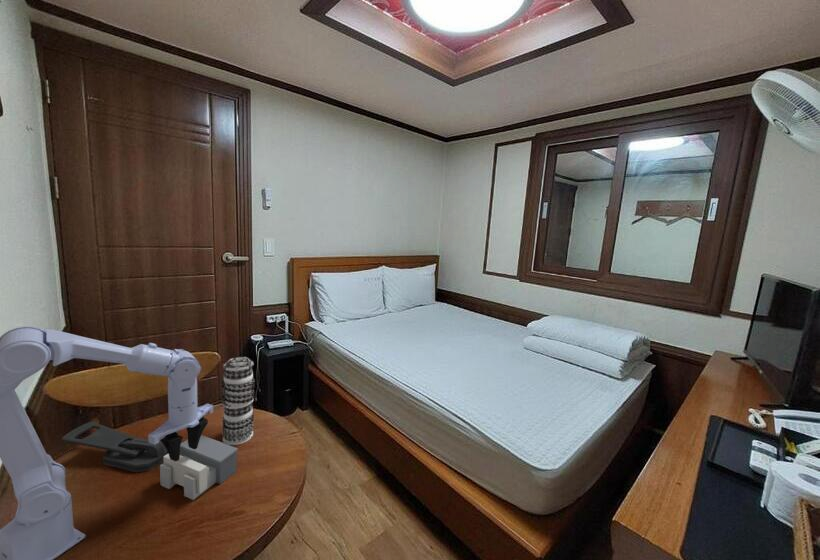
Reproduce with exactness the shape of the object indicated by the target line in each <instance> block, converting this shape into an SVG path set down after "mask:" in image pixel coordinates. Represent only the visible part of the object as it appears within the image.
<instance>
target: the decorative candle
mask: <svg viewBox="0 0 820 560" xmlns="http://www.w3.org/2000/svg"><path fill="white" fill-rule="evenodd" d="M254 363H255V362H254V361H253V360H252V359H250V358H249V357H247V356H235V357H232V358H230V359H229V360H227V361H226V362H225V364H224V363H223V365H222V368H223V369H224V371H223V372H224V373H223V378H221V379H220V380H221V381H220V384H221V385H220V387H221V399H222V400H221V401H222V402H221V405H222V406H223V408H224V410H223V416H222V420H221V422H222V431H221V432H222V435H221V436H222V443H224V444H227V445H230V446H236V445H242V444H245V443H247V442H248V441H249V440H251V439H252V438H253V436H254V426H255V424H254V417H255V415H254V414H255V413H254V411H253V402H254V399H255V390H254V388H255V387H256V379H255V378H254V371H253V366H254V365H255V364H254ZM251 437H252V438H251Z"/></svg>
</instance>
